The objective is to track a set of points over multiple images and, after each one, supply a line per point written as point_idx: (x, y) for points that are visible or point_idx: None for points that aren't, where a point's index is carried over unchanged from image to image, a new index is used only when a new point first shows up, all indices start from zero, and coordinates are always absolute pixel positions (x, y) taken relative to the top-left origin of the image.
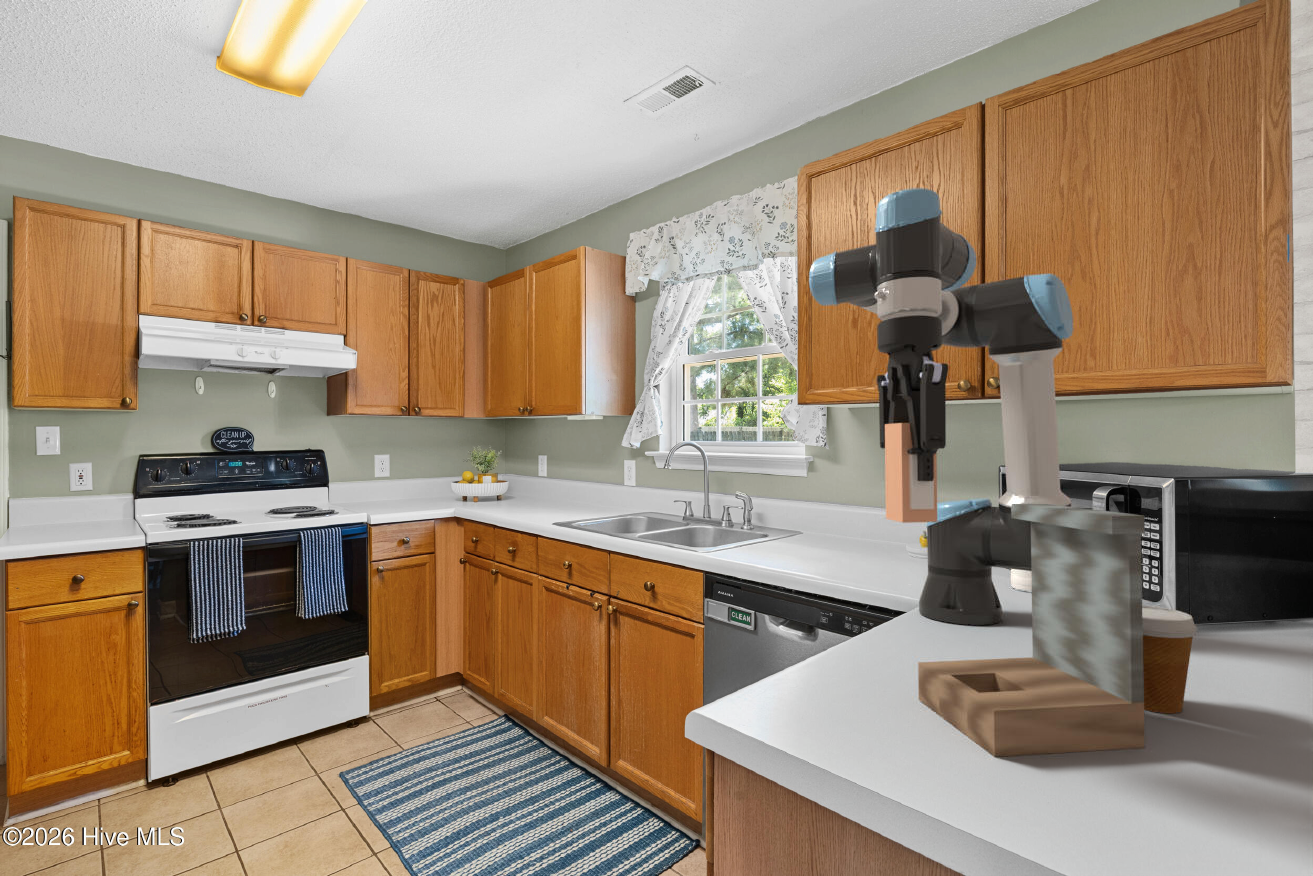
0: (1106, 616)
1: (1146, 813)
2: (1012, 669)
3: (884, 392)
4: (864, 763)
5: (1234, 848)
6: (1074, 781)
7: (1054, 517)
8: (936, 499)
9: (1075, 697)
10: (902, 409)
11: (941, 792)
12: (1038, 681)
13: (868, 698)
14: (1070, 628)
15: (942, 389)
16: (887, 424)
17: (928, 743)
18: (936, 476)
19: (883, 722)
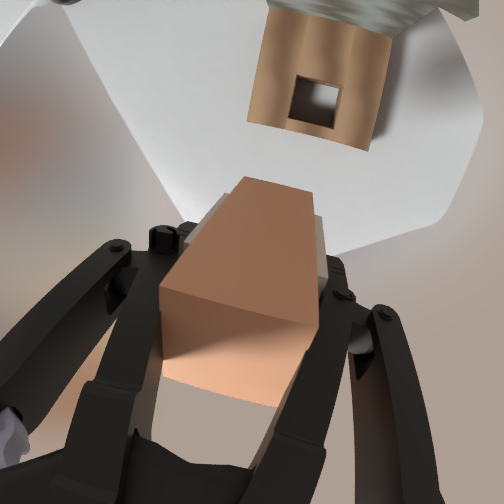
0: (385, 9)
1: (439, 129)
2: (293, 51)
3: (38, 418)
4: (332, 233)
5: (470, 127)
6: (403, 128)
7: None
8: (312, 207)
9: (369, 64)
10: (151, 388)
11: (378, 216)
12: (328, 56)
13: (236, 158)
14: (327, 2)
15: (427, 474)
16: (181, 380)
17: (326, 173)
18: (314, 228)
19: (283, 178)
